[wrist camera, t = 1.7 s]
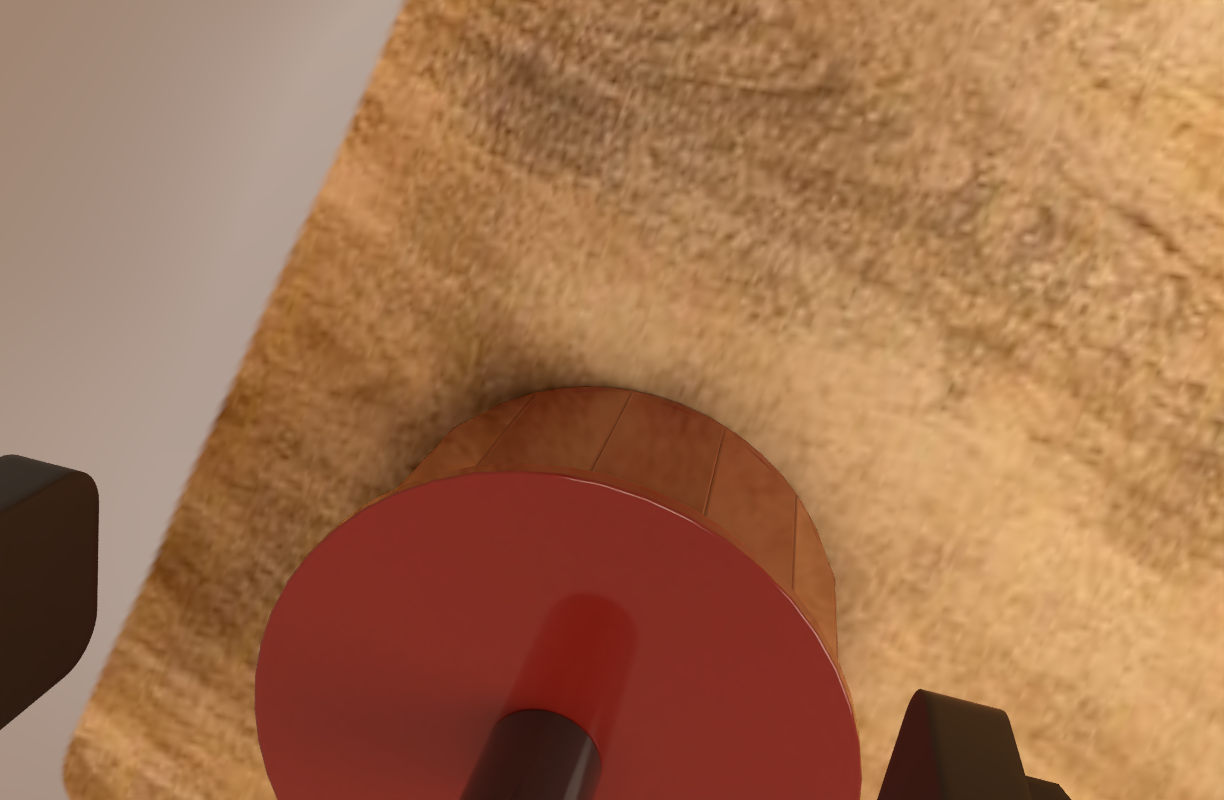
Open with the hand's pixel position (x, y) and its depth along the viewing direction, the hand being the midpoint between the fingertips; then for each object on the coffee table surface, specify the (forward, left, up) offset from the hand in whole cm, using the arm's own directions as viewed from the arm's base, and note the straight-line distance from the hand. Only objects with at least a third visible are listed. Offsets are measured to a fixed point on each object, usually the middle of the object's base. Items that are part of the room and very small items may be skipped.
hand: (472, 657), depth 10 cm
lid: (+5, -10, -14) cm, 18 cm away
